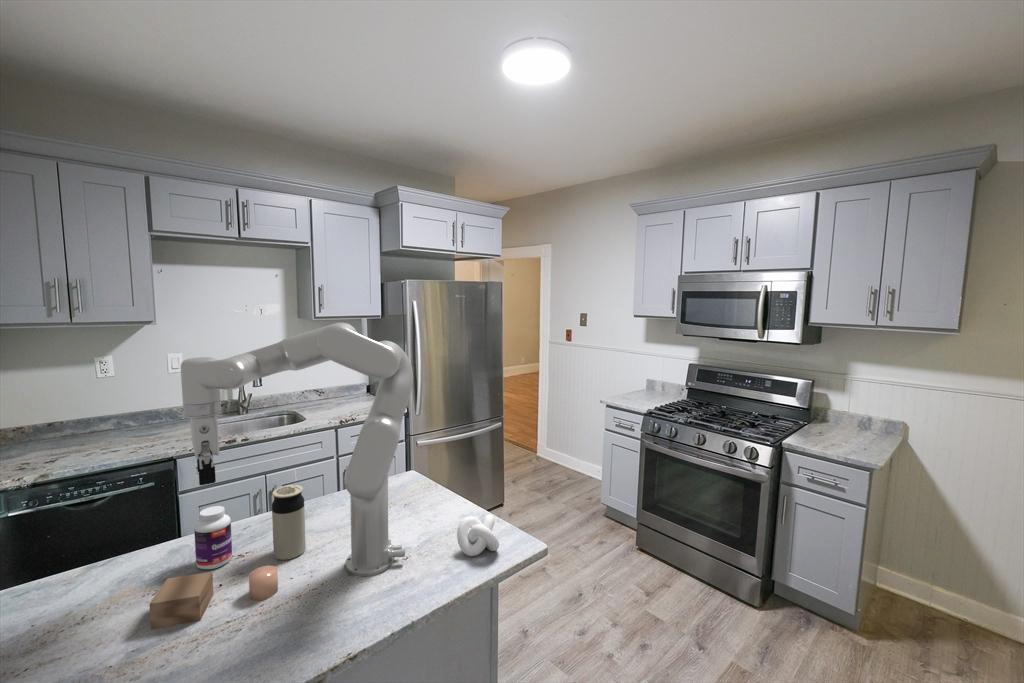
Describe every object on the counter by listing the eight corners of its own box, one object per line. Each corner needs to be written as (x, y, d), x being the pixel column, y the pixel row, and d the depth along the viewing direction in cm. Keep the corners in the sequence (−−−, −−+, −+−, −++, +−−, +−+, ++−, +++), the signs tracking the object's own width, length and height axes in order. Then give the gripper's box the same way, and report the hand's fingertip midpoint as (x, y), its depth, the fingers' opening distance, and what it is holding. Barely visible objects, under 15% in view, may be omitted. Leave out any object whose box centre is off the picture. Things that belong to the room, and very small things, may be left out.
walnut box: (213, 595, 107) (212, 571, 106) (200, 621, 98) (199, 595, 98) (168, 602, 104) (167, 578, 103) (151, 630, 95) (149, 603, 95)
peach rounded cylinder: (281, 583, 111) (281, 564, 111) (272, 600, 105) (271, 580, 105) (256, 585, 110) (255, 566, 110) (244, 601, 105) (244, 581, 104)
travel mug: (278, 564, 119) (275, 499, 117) (270, 551, 125) (268, 489, 123) (309, 553, 124) (307, 491, 123) (300, 541, 130) (298, 481, 128)
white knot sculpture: (510, 548, 128) (510, 518, 127) (481, 567, 119) (481, 535, 118) (481, 535, 135) (481, 506, 134) (452, 552, 126) (452, 521, 125)
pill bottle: (214, 573, 115) (211, 519, 113) (188, 569, 116) (185, 516, 115) (239, 556, 123) (237, 505, 121) (214, 552, 124) (212, 502, 123)
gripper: (223, 414, 104) (227, 485, 105) (218, 400, 118) (221, 463, 119) (183, 419, 99) (188, 493, 101) (182, 403, 113) (187, 469, 115)
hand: (206, 477), depth 110 cm, fingers open, 9 cm apart
